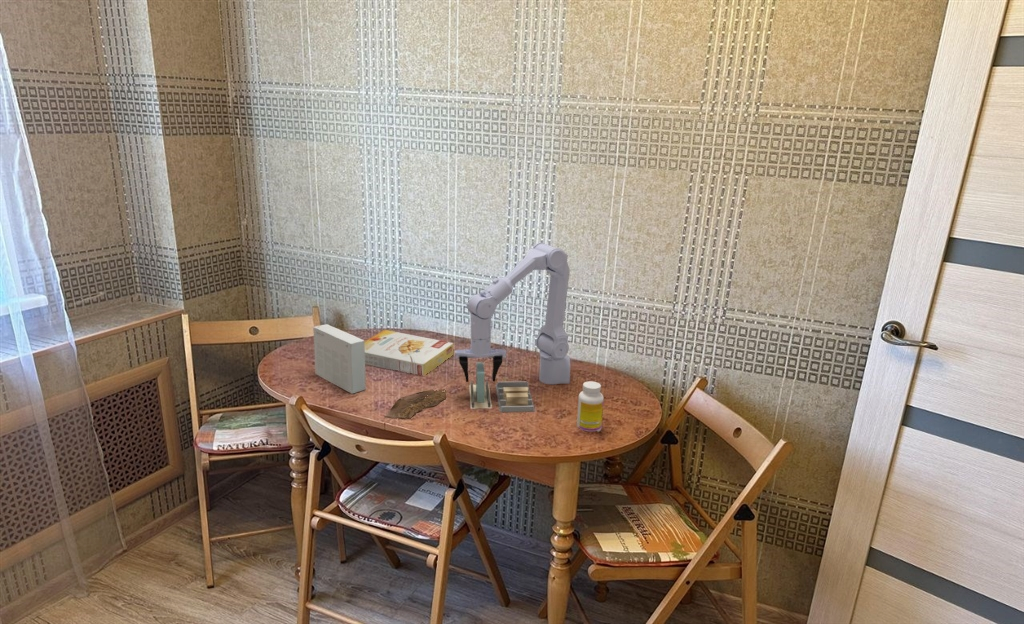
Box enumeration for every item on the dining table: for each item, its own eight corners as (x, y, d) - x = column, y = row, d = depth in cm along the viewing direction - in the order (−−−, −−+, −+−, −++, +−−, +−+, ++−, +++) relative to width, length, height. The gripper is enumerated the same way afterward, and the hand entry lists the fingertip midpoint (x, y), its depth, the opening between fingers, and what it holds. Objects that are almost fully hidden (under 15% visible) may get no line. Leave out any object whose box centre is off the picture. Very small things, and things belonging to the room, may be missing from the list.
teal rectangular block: (484, 402, 178) (484, 373, 175) (477, 402, 178) (477, 373, 175) (482, 390, 186) (483, 362, 183) (476, 390, 186) (476, 362, 183)
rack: (527, 386, 192) (527, 378, 191) (535, 414, 174) (535, 406, 173) (495, 386, 191) (495, 379, 190) (499, 415, 173) (499, 407, 172)
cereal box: (384, 328, 223) (454, 340, 213) (385, 343, 225) (454, 355, 215) (350, 348, 205) (424, 362, 195) (351, 363, 207) (425, 378, 197)
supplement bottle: (604, 433, 165) (608, 389, 161) (581, 435, 163) (584, 391, 159) (596, 421, 171) (599, 378, 167) (573, 423, 169) (576, 380, 166)
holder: (488, 387, 190) (488, 379, 189) (491, 411, 175) (492, 403, 174) (469, 387, 190) (469, 380, 189) (470, 411, 175) (470, 403, 174)
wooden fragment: (399, 424, 167) (399, 421, 167) (372, 412, 173) (372, 409, 173) (463, 393, 186) (463, 390, 186) (437, 383, 193) (437, 380, 192)
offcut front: (526, 405, 177) (527, 392, 176) (527, 409, 174) (528, 396, 173) (505, 406, 176) (506, 393, 175) (506, 410, 174) (506, 397, 173)
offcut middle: (526, 399, 181) (527, 386, 179) (527, 403, 178) (528, 390, 177) (502, 399, 180) (503, 387, 179) (503, 403, 178) (503, 391, 176)
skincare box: (367, 389, 187) (365, 340, 182) (352, 395, 183) (349, 344, 178) (330, 369, 200) (326, 322, 196) (314, 374, 197) (310, 326, 192)
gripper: (505, 331, 181) (504, 374, 185) (455, 332, 179) (455, 375, 184) (507, 340, 174) (506, 384, 178) (455, 340, 173) (455, 385, 177)
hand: (480, 380), depth 181 cm, fingers open, 7 cm apart
